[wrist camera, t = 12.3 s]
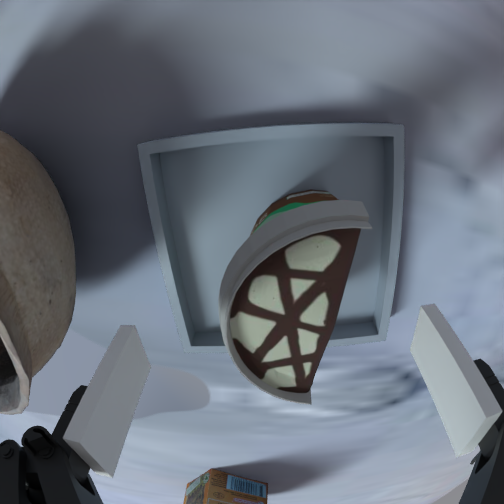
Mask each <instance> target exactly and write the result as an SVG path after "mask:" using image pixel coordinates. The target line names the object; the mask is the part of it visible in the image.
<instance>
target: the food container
mask: <svg viewBox="0 0 504 504" xmlns="http://www.w3.org/2000/svg"><path fill="white" fill-rule="evenodd" d="M368 220H369V215H368V213H367V211H366V209H365V206H364V204H363V202H362V201H351V200H339V199H337V198H336V197H335V196H333V195H332V194H331V193H329V192H328V191H325V190H312V189H310V190H305V191H300V192H295V193H291V194H288V195H286V196H285V197H283V198H281V199H279V200H277V201H276V202H274V203H272V204H271V205H270V206H269V207H268V208H267V209H266V210H265V211H264V212H263V213H262V214H261V215H260V217H259V218H258V219H257V221H256V223H255V225H254V227H253V229H252V232H251V234H250V237H248V239H247V240H246V241H245V242H244V243H243V244H242V245H241V247H240V248H239V249H238V250H237V251H236V253H235V254H234V256H233V258H232V259H231V261H230V263H229V264H228V266H227V268H226V271H225V273H224V276H223V279H222V281H221V286H220V291H219V297H218V309H219V320H220V327H221V332H222V337H223V341H224V344H225V346H226V349H227V351H228V353H229V355H230V356H231V358H232V361H233V363H234V364H235V366H236V367H237V368H238V370H239V371H240V373H241V374H242V375H243V376H244V377H245V378H246V379H247V380H248V381H249V382H251V383H252V384H253V385H255V386H256V387H257V388H259V389H260V390H262V391H264V392H266V393H268V394H270V395H272V396H274V397H277V398H280V399H283V400H286V401H290V402H295V403H301V404H310V405H311V389H310V388H311V386H312V384H313V379H314V376H315V373H316V371H317V368H318V366H319V363H320V360H321V358H322V356H323V353H324V351H325V348H326V346H327V344H328V342H329V339H330V337H331V335H332V332H333V330H334V327H335V323H336V320H337V316H338V312H339V308H340V305H341V301H342V297H343V294H344V290H345V286H346V283H347V279H348V275H349V272H350V269H351V265H352V261H353V258H354V254H355V251H356V247H357V243H358V239H359V235H360V232H361V229H372V226H371V225H370V224H369V222H368Z"/></svg>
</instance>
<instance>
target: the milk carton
mask: <svg viewBox="0 0 504 504" xmlns="http://www.w3.org/2000/svg"><path fill="white" fill-rule="evenodd" d="M267 493H268V483H263V482H259V481H255V480H251V479H247V478H243V477H239V476H235V475H232V474H228V473H225V472H221V471H218V470H215V469H212V468H211V469H210V470H208V471H207V472H205V473H204V474H202V475H201V476H199V477H198V478H196V479H195V480H193V481H191V482H190V483H188V484H187V488H186V493H185V498H184V503H183V504H267Z"/></svg>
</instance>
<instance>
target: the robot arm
mask: <svg viewBox="0 0 504 504" xmlns="http://www.w3.org/2000/svg"><path fill="white" fill-rule="evenodd" d="M410 351H411V353H412V355H413V358H414V360H415V362H416V364H417V366H418V368H419V370H420V372H421V374H422V376H423V379H424V381H425V383H426V385H427V387H428V390H429V392H430V394H431V396H432V399H433V401H434V403H435V405H436V408H437V410H438V412H439V415H440V417H441V420H442V422H443V424H444V427H445V429H446V432H447V434H448V437H449V439H450V442H451V445H452V447H453V450H454V452H455V455H456V458H458V457H461V456H464V455H466V454H469V453H471V452H473V450H474V449H475V448H476V447H477V445H479V447H480V449H481V450H480V452H479V453H478V454H477V455H476V456H475V457H474V459H473V460H472V461H471V463H470V464H473V463H474V462H475V461H476V462H475V465H474V467H473V470H472V473H471V475H470V478H469V480H468V483H467V485H466V488H465V490H464V493H463V495H462V497H461V499H460V502H459V504H504V389H503V387H502V386H501V384H500V383H499V381H498V379H497V377H496V376H495V374H494V373H493V371H492V369H491V368H490V366H489V365H488V364H486V363H485V362H484V361H483V360H481V359H478V360H474V361H473V360H472V358H471V357H470V355H469V353H468V352H467V350H466V349H465V347H464V346H463V344H462V343H461V341H460V340H459V338H458V337H457V335H456V334H455V332H454V331H453V329H452V328H451V326H450V325H449V323H448V322H447V320H446V319H445V318H444V316H443V315H442V313H441V312H440V310H439V309H438V308H437V306H436V305H435V304H429V305H423V306H421V308H420V312H419V316H418V321H417V325H416V329H415V333H414V337H413V341H412V344H411V348H410ZM150 369H151V365H150V363H149V360H148V358H147V355H146V353H145V350H144V348H143V345H142V343H141V340H140V337H139V335H138V332H137V329H136V327H135V325H121V326H120V328H119V329H118V331H117V333H116V335H115V337H114V338H113V340H112V342H111V344H110V346H109V347H108V349H107V351H106V353H105V355H104V357H103V359H102V360H101V362H100V364H99V366H98V368H97V370H96V372H95V374H94V375H93V377H92V380H91V381H90V383H89V385H88V386H83V385H81V386H80V387H79V388H78V389H77V390H76V391H75V392H73V394H72V396H71V398H70V400H69V401H68V404H67V405H66V408H65V411H64V412H63V413H62V415H61V417H60V419H59V421H58V423H57V425H56V427H55V429H54V431H53V433H52V435H51V434H50V433H49V432H48V431H47V429H45V428H44V427H42V426H33V427H31V428H29V429H28V430H27V431H26V432H25V433H24V434H23V437H22V445H23V446H24V447H20V446H19V444H18V443H17V442H15V441H14V440H9V439H8V440H5V441H3V442H2V443H1V444H0V504H103V502H102V500H101V498H100V496H99V494H98V492H97V490H96V487H95V485H94V483H93V481H92V478H91V477H90V475H89V474H88V473H89V470H90V468H91V469H92V470H93V471H94V472H95V473H96V474H98V475H102V476H106V477H110V478H113V476H114V473H115V470H116V467H117V464H118V460H119V457H120V454H121V451H122V448H123V445H124V442H125V439H126V436H127V433H128V430H129V428H130V425H131V422H132V419H133V416H134V413H135V410H136V407H137V405H138V402H139V399H140V396H141V394H142V391H143V388H144V385H145V383H146V380H147V377H148V374H149V372H150Z"/></svg>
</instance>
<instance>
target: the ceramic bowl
mask: <svg viewBox="0 0 504 504" xmlns="http://www.w3.org/2000/svg"><path fill="white" fill-rule="evenodd" d="M75 272H76V266H75V247H74V240H73V235H72V231H71V227H70V219H69V216H68V214H67V211H66V209H65V207H64V204H63V202H62V199H61V197H60V195H59V192H58V190H57V188H56V187H55V185H54V183H53V181H52V179H51V178H50V176H49V174H48V173H47V171H46V170H45V168H44V167H43V165H42V164H41V162H40V161H39V160H38V159H37V158H36V157H35V156H34V155H33V153H32V152H30V151H29V150H28V149H27V148H25V147H24V146H22V145H21V144H20V143H19V142H18V141H17V140H15V139H14V138H13V137H11V136H10V135H9V134H7V133H5V132H3V131H1V130H0V413H1V414H9V415H13V414H21V413H22V412H23V411H24V409H25V408H26V407H27V406H28V403H29V394H30V387H31V380H32V377H33V376H34V375H36V374H37V373H38V372H39V371H40V370H41V369H42V368H43V366H44V365H45V364H46V363H47V362H48V361H49V360H50V359H51V357H52V356H53V355H54V353H55V352H56V350H57V349H58V348H59V347H60V346H61V343H62V342H63V339H64V337H65V335H66V333H67V331H68V328H69V326H70V323H71V321H72V316H73V311H74V305H75V296H76V275H75Z"/></svg>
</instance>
